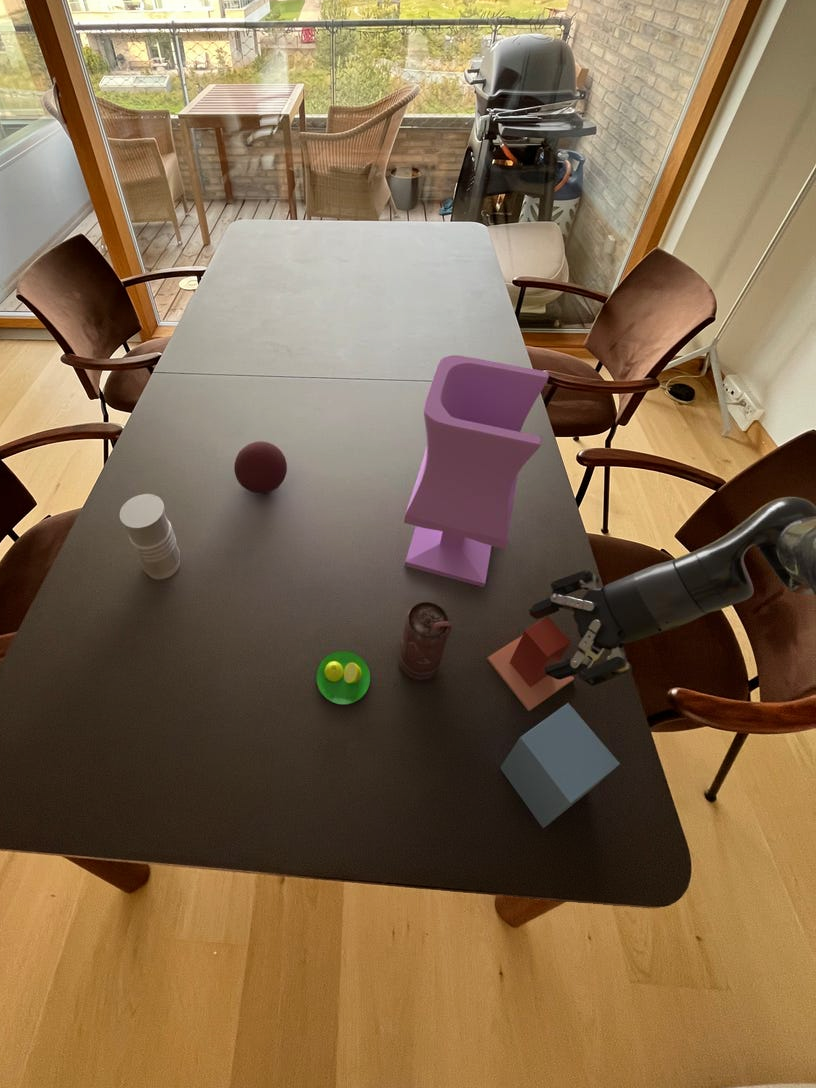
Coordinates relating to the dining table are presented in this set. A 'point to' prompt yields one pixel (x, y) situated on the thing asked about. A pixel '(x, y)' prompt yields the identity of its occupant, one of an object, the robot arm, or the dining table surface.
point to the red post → (539, 650)
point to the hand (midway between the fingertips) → (539, 643)
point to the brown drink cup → (423, 642)
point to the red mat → (517, 684)
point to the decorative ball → (260, 467)
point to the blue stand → (557, 764)
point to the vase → (470, 464)
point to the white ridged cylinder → (151, 535)
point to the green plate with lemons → (343, 677)
